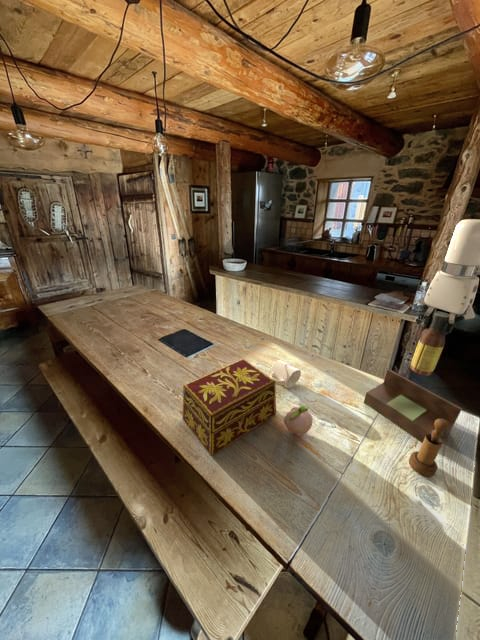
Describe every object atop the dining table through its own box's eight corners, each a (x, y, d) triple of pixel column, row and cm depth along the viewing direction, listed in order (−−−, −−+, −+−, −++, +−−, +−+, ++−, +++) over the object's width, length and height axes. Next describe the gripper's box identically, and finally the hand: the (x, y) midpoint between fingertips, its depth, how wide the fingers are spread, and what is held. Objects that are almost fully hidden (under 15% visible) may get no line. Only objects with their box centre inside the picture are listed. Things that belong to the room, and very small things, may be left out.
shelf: (449, 433, 88) (462, 408, 83) (431, 449, 82) (444, 423, 78) (382, 391, 106) (389, 368, 102) (363, 402, 101) (370, 379, 96)
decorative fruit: (301, 447, 82) (305, 424, 78) (279, 433, 87) (281, 410, 83) (315, 429, 89) (319, 406, 84) (293, 417, 94) (297, 395, 89)
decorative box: (211, 457, 79) (209, 420, 72) (181, 419, 92) (178, 384, 85) (276, 414, 94) (279, 380, 88) (243, 387, 107) (244, 355, 101)
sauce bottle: (436, 374, 83) (463, 318, 74) (422, 378, 81) (448, 321, 71) (417, 362, 88) (440, 308, 79) (403, 366, 86) (425, 311, 77)
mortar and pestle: (403, 460, 79) (422, 415, 71) (419, 453, 81) (439, 409, 73) (424, 480, 73) (447, 434, 66) (440, 472, 76) (464, 427, 68)
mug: (282, 371, 117) (283, 356, 114) (299, 381, 111) (302, 366, 108) (264, 383, 110) (265, 367, 106) (281, 394, 104) (283, 378, 100)
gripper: (505, 275, 66) (475, 339, 73) (431, 261, 78) (413, 317, 86) (493, 279, 62) (463, 347, 70) (418, 264, 75) (400, 322, 83)
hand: (436, 330), depth 78 cm, fingers closed on sauce bottle, 4 cm apart
